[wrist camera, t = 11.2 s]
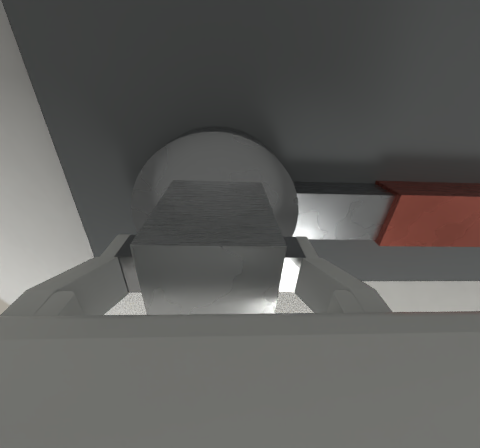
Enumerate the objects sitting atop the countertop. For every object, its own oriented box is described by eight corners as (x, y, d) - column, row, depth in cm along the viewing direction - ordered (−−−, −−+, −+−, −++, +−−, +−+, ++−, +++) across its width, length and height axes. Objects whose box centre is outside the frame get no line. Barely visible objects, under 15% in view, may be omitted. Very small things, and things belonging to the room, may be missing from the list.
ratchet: (521, 138, 13) (665, 159, 9) (444, 257, 18) (515, 310, 13) (133, 122, 12) (77, 137, 7) (157, 256, 16) (132, 314, 12)
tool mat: (799, -140, 9) (836, -155, 8) (477, 275, 20) (484, 280, 19) (-79, -262, 7) (-105, -293, 6) (107, 276, 18) (103, 281, 17)
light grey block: (261, 182, 11) (286, 246, 6) (255, 252, 13) (269, 339, 8) (173, 180, 11) (129, 245, 6) (181, 251, 13) (153, 340, 8)
